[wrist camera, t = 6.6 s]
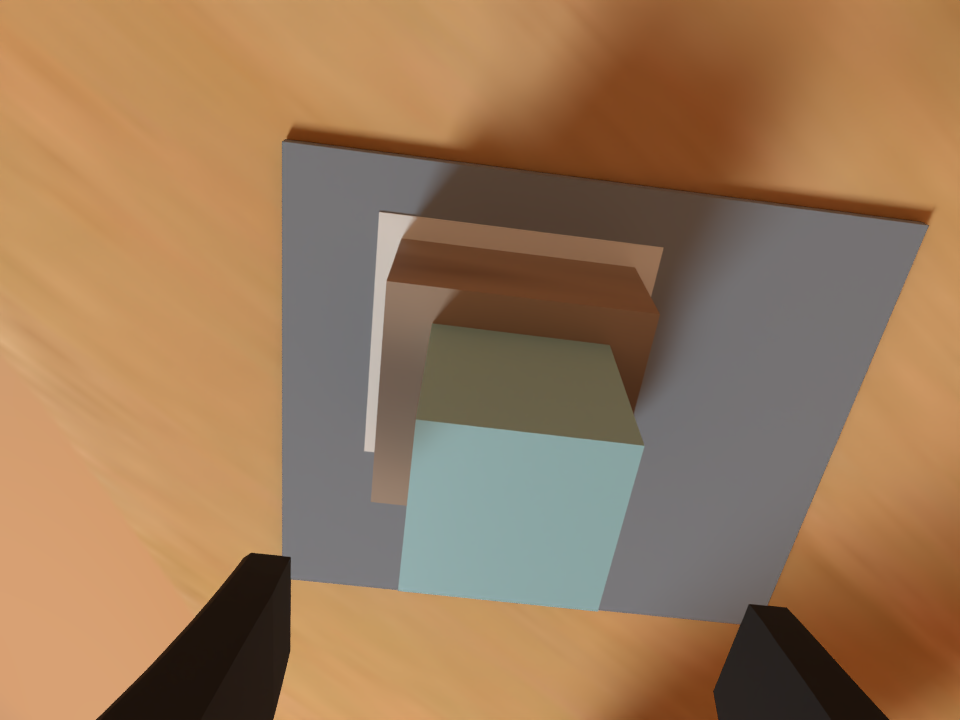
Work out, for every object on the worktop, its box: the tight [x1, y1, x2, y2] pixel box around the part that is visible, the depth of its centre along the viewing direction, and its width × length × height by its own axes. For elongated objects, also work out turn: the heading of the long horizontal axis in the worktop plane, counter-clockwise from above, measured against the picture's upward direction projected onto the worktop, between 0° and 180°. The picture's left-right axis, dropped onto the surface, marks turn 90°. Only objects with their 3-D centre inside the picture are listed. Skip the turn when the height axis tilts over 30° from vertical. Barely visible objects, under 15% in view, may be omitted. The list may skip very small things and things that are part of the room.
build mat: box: [282, 139, 929, 624], centre depth 21 cm, size 14×16×1 cm
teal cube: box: [398, 323, 644, 611], centre depth 15 cm, size 4×4×4 cm
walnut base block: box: [371, 238, 660, 506], centre depth 18 cm, size 6×6×3 cm
